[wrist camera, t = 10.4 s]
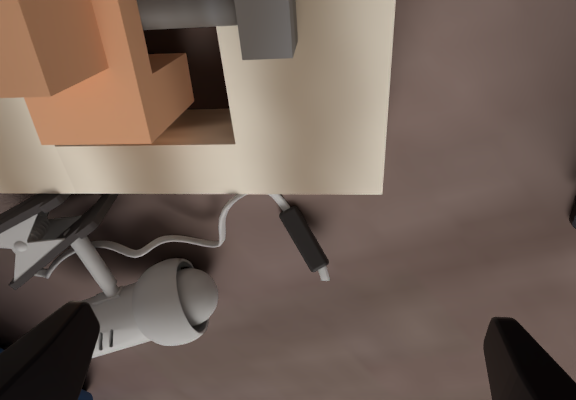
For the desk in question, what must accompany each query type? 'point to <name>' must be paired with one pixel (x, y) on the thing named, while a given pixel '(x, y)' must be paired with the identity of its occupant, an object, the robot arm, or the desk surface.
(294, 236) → the clip-on lamp
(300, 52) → the beige square frame
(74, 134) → the wooden cross piece
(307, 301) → the desk surface
